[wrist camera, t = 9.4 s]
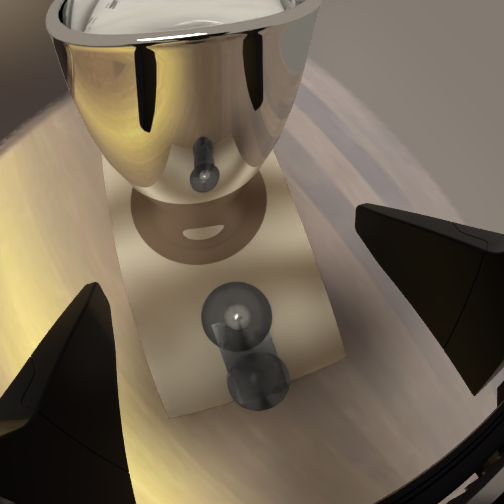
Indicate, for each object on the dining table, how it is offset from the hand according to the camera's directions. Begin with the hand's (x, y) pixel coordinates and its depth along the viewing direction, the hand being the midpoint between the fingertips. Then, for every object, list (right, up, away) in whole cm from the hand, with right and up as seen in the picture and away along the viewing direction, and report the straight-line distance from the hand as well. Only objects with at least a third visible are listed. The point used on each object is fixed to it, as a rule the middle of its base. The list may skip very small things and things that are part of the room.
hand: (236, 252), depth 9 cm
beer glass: (-3, +3, +10) cm, 11 cm away
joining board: (-3, +3, +11) cm, 12 cm away
